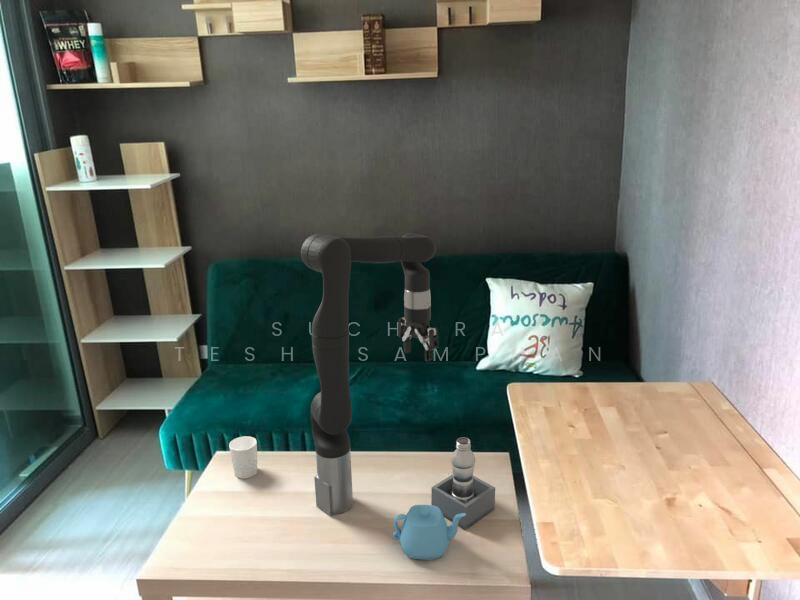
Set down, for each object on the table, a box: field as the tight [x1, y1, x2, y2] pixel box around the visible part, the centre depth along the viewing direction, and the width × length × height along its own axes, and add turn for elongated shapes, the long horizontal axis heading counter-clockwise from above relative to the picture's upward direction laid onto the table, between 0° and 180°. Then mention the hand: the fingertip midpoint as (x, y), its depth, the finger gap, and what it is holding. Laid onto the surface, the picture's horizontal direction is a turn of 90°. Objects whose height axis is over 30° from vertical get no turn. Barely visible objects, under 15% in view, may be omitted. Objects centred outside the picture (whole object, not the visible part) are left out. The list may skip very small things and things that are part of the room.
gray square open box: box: [431, 474, 496, 531], centre depth 170 cm, size 12×12×7 cm
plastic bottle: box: [450, 436, 476, 504], centre depth 167 cm, size 6×7×20 cm
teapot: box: [392, 504, 466, 561], centre depth 156 cm, size 13×11×18 cm
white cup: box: [228, 435, 258, 480], centre depth 187 cm, size 8×8×10 cm
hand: (417, 356), depth 184 cm, fingers open, 8 cm apart
